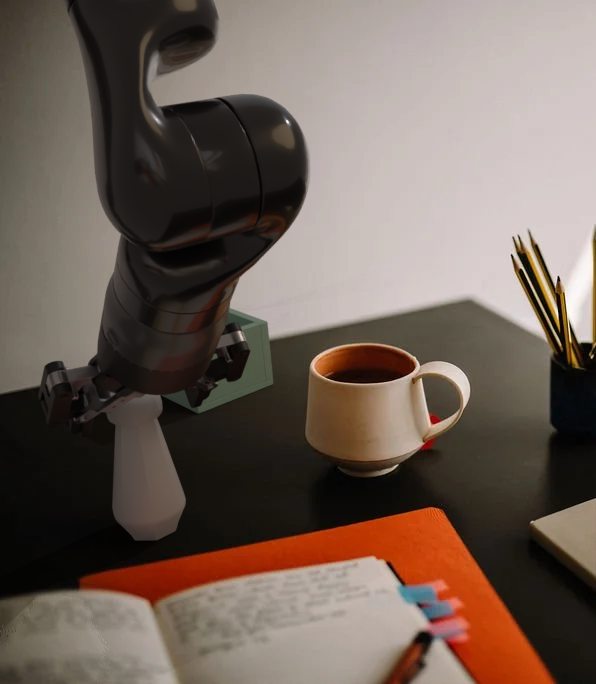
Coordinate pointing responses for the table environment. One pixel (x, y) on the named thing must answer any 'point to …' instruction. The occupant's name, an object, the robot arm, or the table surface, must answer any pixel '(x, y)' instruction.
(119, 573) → the table surface
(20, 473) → the table surface
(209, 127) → the robot arm
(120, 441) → the salt shaker
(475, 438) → the table surface
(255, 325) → the green open box
